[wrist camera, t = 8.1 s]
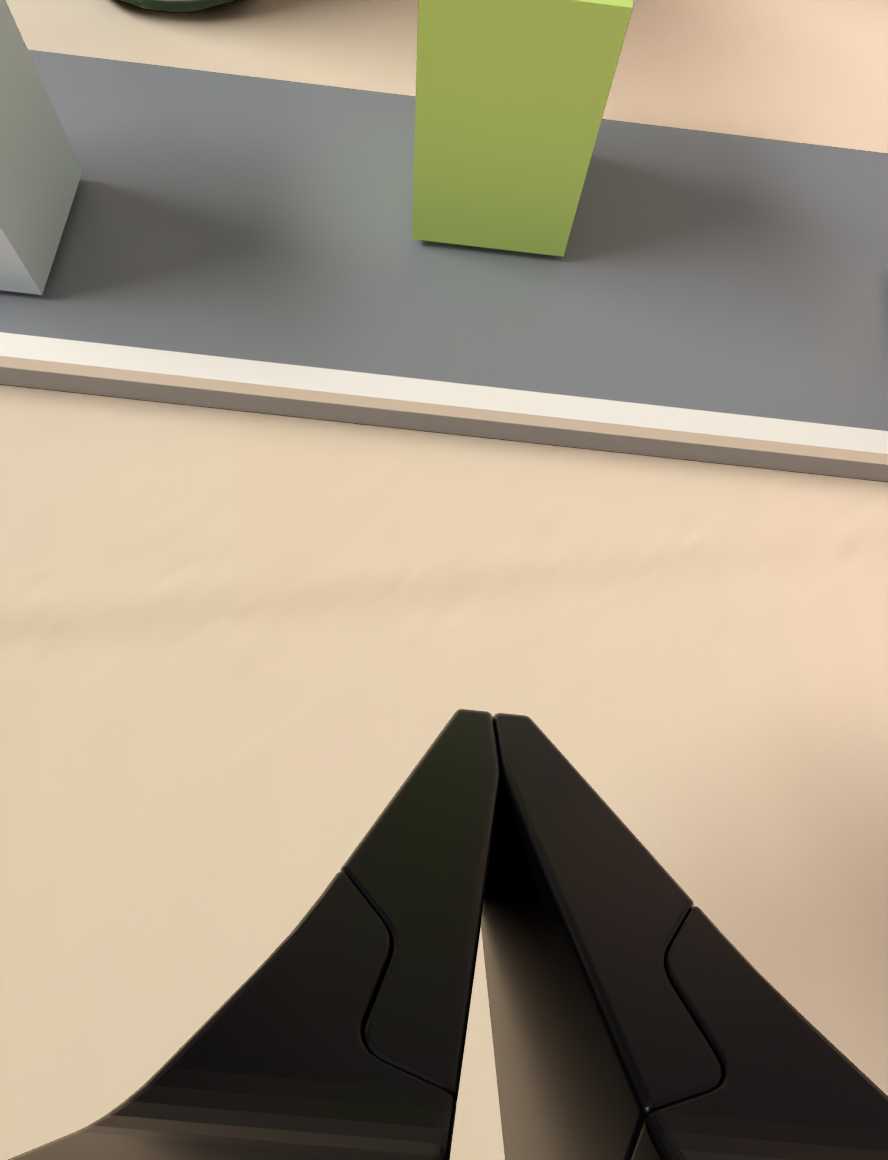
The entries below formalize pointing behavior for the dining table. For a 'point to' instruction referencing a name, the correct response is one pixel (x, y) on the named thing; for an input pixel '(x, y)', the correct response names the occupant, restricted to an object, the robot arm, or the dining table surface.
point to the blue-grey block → (30, 168)
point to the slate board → (459, 279)
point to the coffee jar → (176, 4)
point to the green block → (509, 117)
